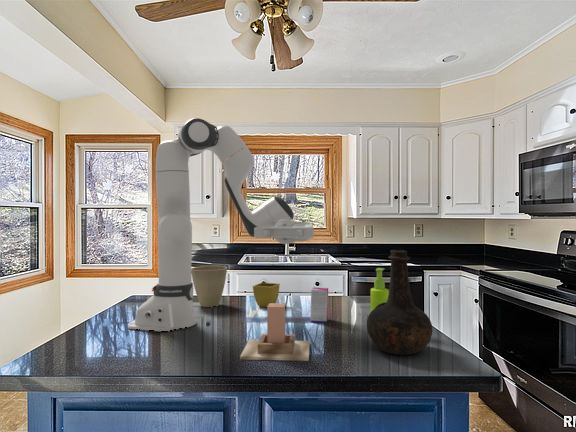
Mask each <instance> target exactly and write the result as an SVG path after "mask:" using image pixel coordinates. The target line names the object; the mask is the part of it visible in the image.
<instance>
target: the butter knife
mask: <svg viewBox="0 0 576 432" xmlns="http://www.w3.org/2000/svg"><path fill="white" fill-rule="evenodd" d="M258 313H259V310H255V309H253V310H251V315H250V316H249V318H250V319H251V318H254V317H255V315H257V314H258Z"/></svg>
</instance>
